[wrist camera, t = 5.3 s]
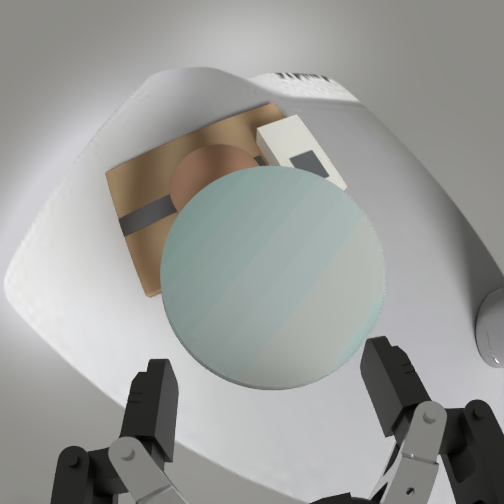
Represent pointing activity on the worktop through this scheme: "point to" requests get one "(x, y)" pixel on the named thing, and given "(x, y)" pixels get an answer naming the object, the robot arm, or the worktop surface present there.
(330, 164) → the block
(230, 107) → the worktop surface
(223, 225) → the spray paint can
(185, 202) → the plywood panel
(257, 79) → the worktop surface
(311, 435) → the worktop surface
